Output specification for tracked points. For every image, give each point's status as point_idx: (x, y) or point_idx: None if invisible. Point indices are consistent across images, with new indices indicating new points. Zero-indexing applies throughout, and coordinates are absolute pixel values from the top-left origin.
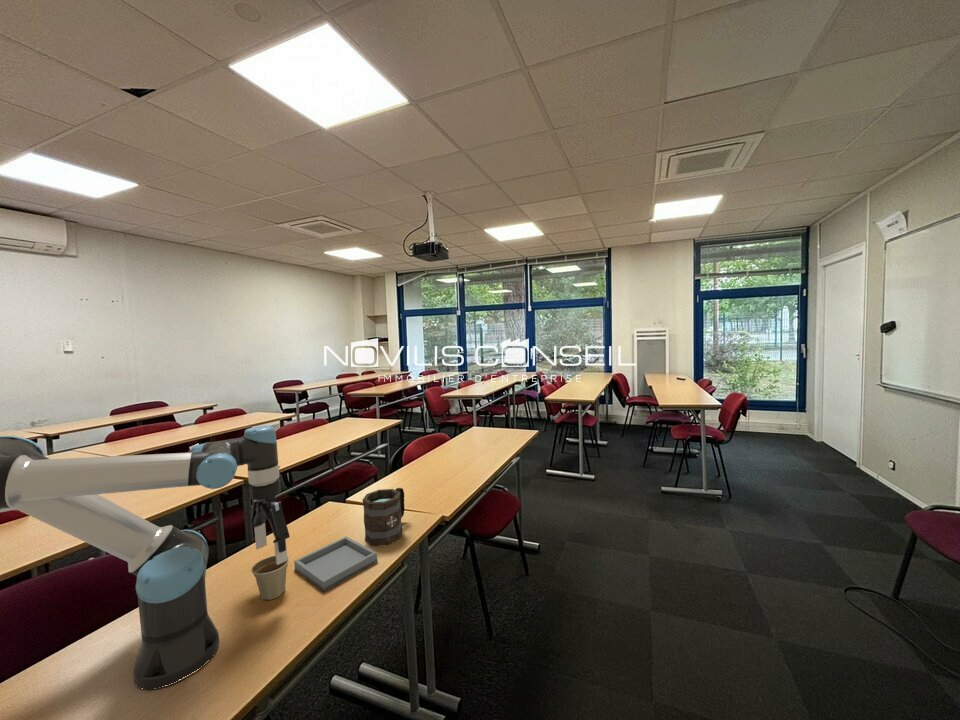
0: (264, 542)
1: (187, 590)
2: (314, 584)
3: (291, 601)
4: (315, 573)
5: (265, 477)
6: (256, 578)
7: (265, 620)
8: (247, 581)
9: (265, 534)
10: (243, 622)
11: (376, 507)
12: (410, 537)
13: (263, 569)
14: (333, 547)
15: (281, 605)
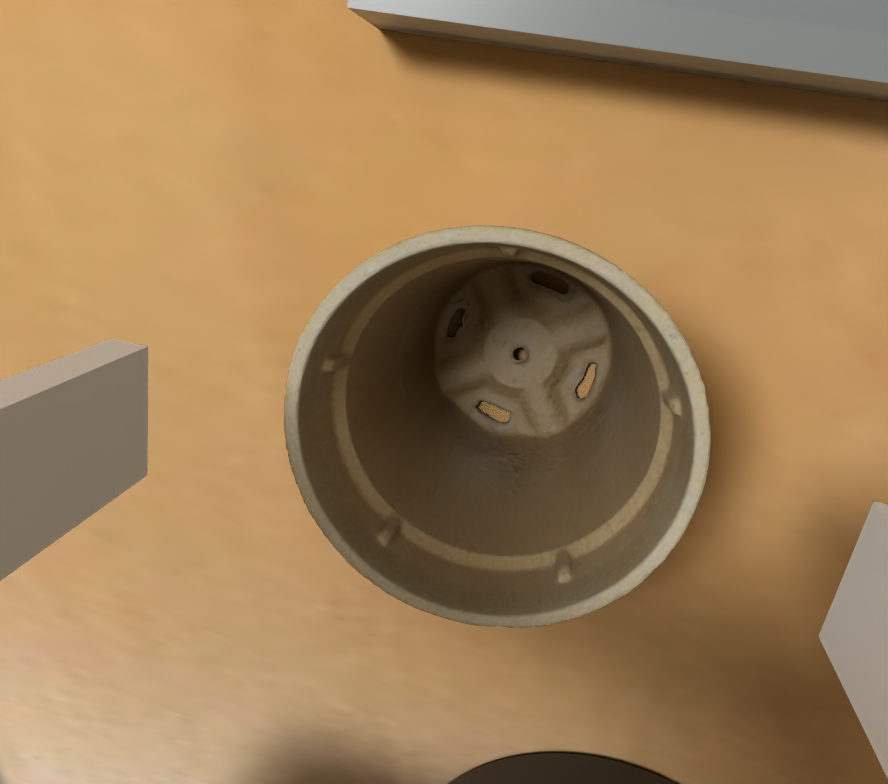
0: (108, 394)
1: None
2: (805, 89)
3: (782, 352)
4: (836, 44)
5: None
6: (472, 547)
7: (770, 567)
8: (175, 343)
9: (8, 414)
10: (628, 628)
11: None
12: None
13: (358, 404)
14: None
15: (739, 418)
